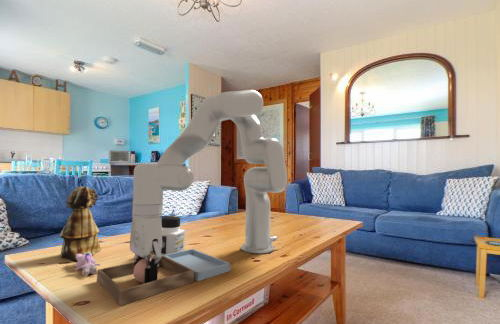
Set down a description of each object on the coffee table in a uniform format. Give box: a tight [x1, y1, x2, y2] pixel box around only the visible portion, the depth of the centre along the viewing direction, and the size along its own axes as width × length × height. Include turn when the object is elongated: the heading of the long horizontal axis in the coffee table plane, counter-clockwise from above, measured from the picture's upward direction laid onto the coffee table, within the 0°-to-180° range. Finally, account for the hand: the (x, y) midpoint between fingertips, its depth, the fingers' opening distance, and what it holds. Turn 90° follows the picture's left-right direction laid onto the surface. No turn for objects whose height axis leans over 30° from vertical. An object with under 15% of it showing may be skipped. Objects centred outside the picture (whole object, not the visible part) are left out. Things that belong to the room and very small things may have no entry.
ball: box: [132, 258, 152, 284], centre depth 69 cm, size 6×6×6 cm
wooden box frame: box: [96, 255, 195, 306], centre depth 69 cm, size 18×17×3 cm
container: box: [161, 215, 186, 255], centre depth 95 cm, size 8×8×13 cm
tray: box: [164, 248, 231, 282], centre depth 81 cm, size 11×20×2 cm, turn 45°
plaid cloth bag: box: [58, 185, 102, 262], centre depth 91 cm, size 14×14×25 cm
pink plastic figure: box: [75, 252, 101, 279], centre depth 77 cm, size 6×6×15 cm
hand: (145, 278), depth 69 cm, fingers closed on ball, 5 cm apart
